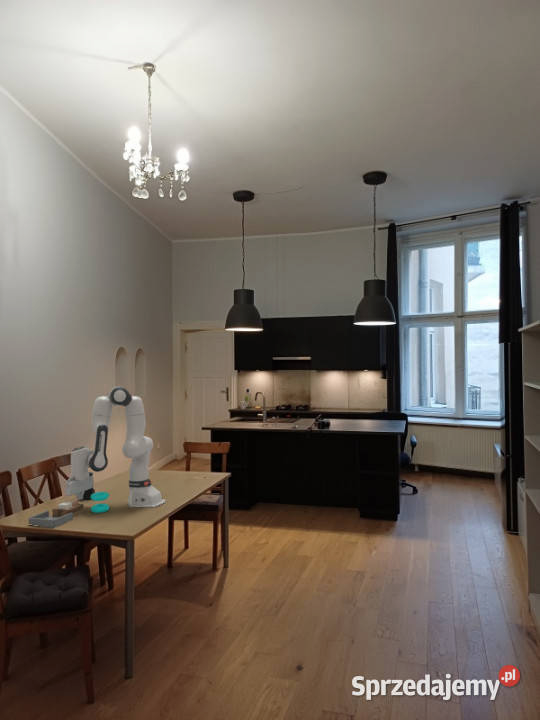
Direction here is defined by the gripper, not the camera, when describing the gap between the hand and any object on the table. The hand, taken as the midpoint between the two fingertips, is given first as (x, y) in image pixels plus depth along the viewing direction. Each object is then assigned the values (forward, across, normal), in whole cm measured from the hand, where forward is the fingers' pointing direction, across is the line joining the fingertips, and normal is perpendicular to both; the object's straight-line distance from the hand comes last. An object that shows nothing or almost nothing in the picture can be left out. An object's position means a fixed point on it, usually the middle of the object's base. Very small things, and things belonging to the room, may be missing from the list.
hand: (79, 499), depth 299 cm
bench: (+6, -10, 0) cm, 12 cm away
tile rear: (+1, -7, 0) cm, 7 cm away
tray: (+6, -23, 0) cm, 24 cm away
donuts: (+6, +2, -12) cm, 14 cm away
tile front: (+1, -12, 0) cm, 12 cm away
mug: (+6, +22, +13) cm, 26 cm away
